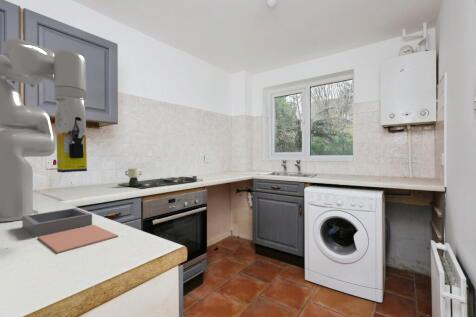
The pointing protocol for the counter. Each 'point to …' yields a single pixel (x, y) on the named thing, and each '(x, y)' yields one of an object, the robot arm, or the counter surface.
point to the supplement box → (64, 159)
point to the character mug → (133, 176)
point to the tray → (55, 221)
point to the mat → (76, 238)
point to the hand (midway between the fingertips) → (71, 157)
